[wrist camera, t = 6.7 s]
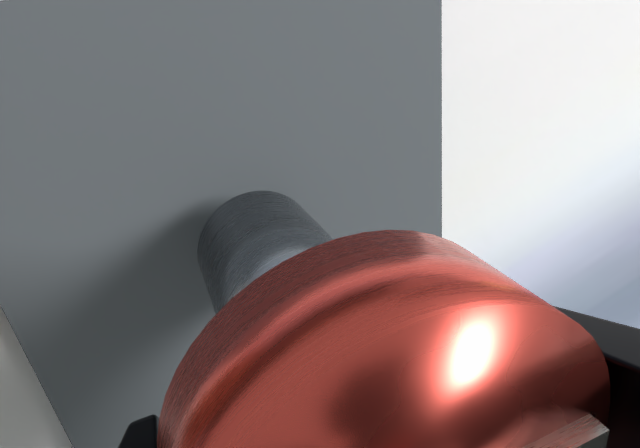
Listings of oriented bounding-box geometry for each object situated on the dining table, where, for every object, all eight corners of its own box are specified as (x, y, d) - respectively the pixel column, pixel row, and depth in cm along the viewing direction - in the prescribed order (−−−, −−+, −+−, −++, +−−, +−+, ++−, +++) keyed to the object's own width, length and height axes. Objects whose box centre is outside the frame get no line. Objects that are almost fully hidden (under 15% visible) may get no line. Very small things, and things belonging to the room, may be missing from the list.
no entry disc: (348, 114, 12) (675, 248, 5) (365, 303, 15) (594, 563, 8) (105, 167, 10) (82, 482, 3) (173, 370, 13) (241, 786, 6)
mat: (435, 328, 19) (441, 334, 18) (86, 462, 15) (86, 472, 14) (432, -47, 13) (441, -49, 12) (-138, 17, 9) (-148, 17, 9)
